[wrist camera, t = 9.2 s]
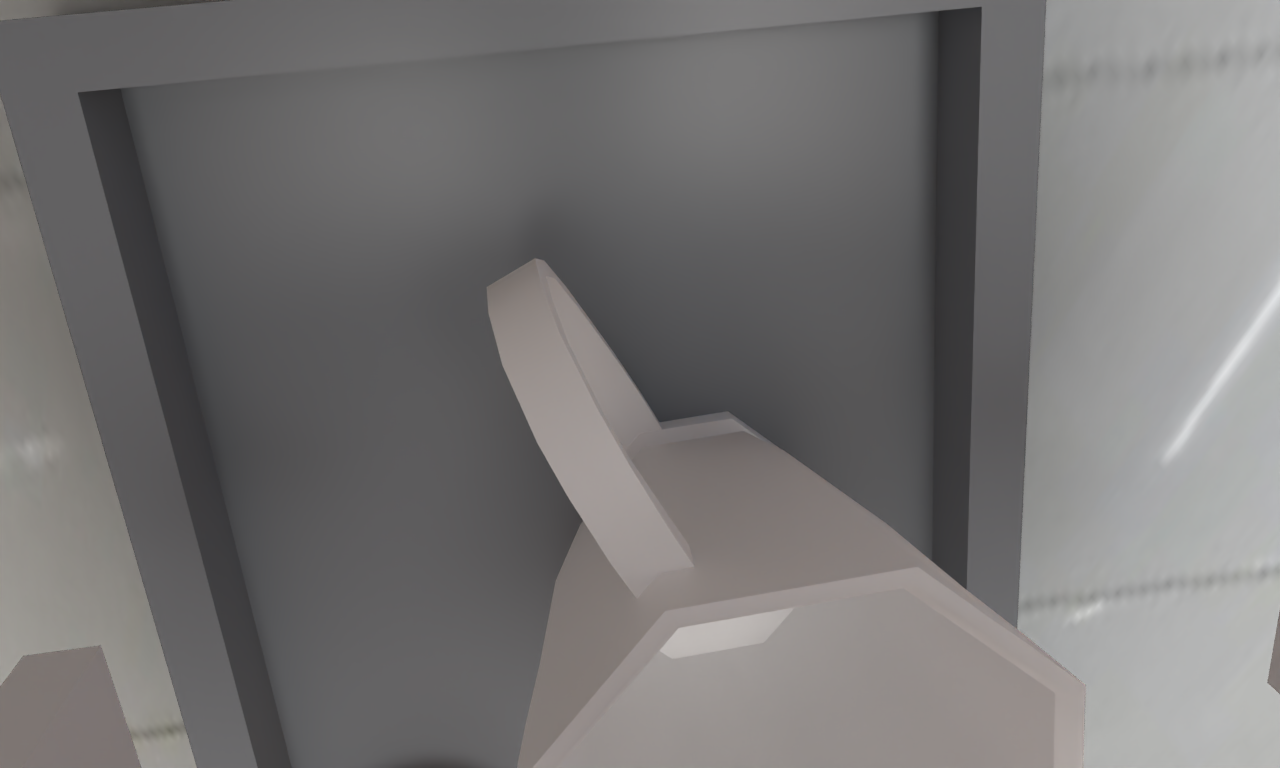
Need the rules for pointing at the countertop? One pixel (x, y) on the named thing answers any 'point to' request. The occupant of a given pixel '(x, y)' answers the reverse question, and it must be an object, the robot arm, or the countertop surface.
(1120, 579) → the countertop surface
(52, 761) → the robot arm
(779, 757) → the cup
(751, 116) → the tray
